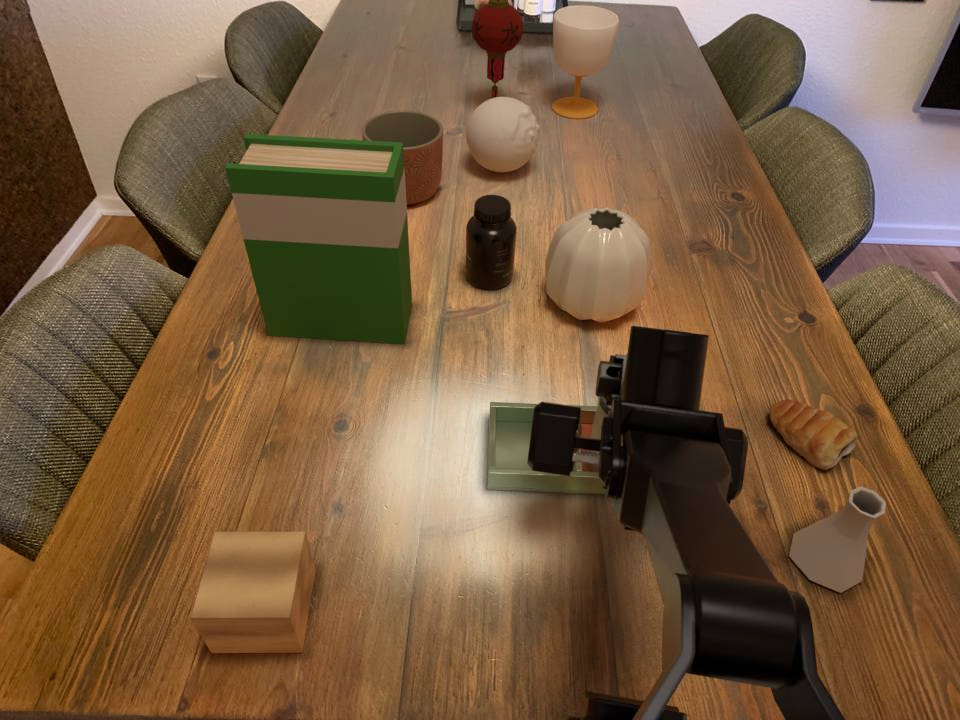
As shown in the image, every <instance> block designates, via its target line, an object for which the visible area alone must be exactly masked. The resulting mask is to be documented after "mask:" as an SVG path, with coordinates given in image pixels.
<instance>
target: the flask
mask: <svg viewBox="0 0 960 720" xmlns="http://www.w3.org/2000/svg"><path fill="white" fill-rule="evenodd" d="M886 509H887V501H886V500H885V499H884V498H883V497H882V496H881V495H880V494H879V493H877V492H876V491H875V490H872V489H869V488H867V487H865V486H862V485H860V486H858V487H856V488H854V489H852V490H850V491H849V492H848V499H847V501H846V502H845V504H844V505H843V506H842V507H841V508H839V509H838V510H837V511H836V512H835V513H833V514H831V515H829V516H827V517H824V518H822V519H820V520H818V521H815V522H814V523H811V524H809V525H808V526H805V527H803V528H802V529H800V530H798V531H795V532H793V536H792V538H791V544H790V549H789V553H788V557H789V558H790V559H791V560H792V561H793V563H794V564H795V565H796V566H797V568H799V570H800V571H801V572H802V573H803V575H804V576H805V577H806V578H807V579H808V580H809V581H811V582H813V583H816V584H818V585H821V586H822V587H826V588H827V589H830V590H832V591H835V592H837V593H839V594H842V593H844V592H845V591H848V590H849V589H851V588H852V587H854V586H856V585H858V584H860V583H862V582H863V581H864V580H863V578H864V571H865V565H866V558H867V544H868V536H869V533H870V531H871V528H872V526H873V523H874V522H875V521H876V520H877V519H879V518H880V517H882V516H884V515H885V514H886Z"/></svg>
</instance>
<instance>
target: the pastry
mask: <svg viewBox="0 0 960 720" xmlns="http://www.w3.org/2000/svg"><path fill="white" fill-rule="evenodd" d="M769 419H770V422H771V424H772V426H773V428H775V429H776V432H777V433H778V434H780V436H781V437H782V438H783V441H784V442H785V443H786V444H787V446H789V447H790V448H791V449H792V450H793V451H794V452H796V453H797V454H798V455H799V456H801V457H803V458H804V459H805V460H806V461H807V462H808V463H809V464H810V465H812V466H813V467H816V468H818V469H821V470H823V471H828V470H829V469H832V468H833V467H835V466H836V465H837V464H838V463H839V462H840V461H841V459H842V457H844V456H847V455H849V454H851V453H852V451H853V450H854V449H855V447H856V444H857V441H858V433H857V431H856V430H855V429H852V428H850V427H849V426H848V425H847V424H846V423H845V422H844V421H842V420H841V419H840V418H838V417H836V416H835V415H834V414H833V413H832V412H830V411H828V410H822V409H821V408H816V407H813V406H811V405H809V404H807V403H805V402H801V401H797V400H792V399H782V400H779V401H777V402H776V403H773V404H771V405H770V407H769Z"/></svg>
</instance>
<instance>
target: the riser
mask: <svg viewBox="0 0 960 720" xmlns="http://www.w3.org/2000/svg"><path fill="white" fill-rule="evenodd" d="M316 571H317V569H316V565H315V562H314V558H313V555H312V552H311V549H310V545H309V540H308V538H307V534H306V531H214V534H213V537H212V541H211V544H210V548H209V551H208V554H207V558H206V562H205V564H204V570H203V571H202V572H203V573H202V575H201V579H200V583H199V586H198V589H197V594H196V598H195V601H194V604H193V608H192V611H191V615H190V619H191V621H192V623H193V624H194V627H195V628H196V630H197V631H198V633H199V634H200V636H201V638H202V640H203V642H204V643H205V645H206V646H207V649H208V650H209V651H210V653H211V654H302V653H303V652H304V647H305V641H306V633H307V627H308V620H309V615H310V608H311V602H312V597H313V591H314V583H315V578H316Z"/></svg>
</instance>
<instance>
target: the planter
mask: <svg viewBox="0 0 960 720" xmlns="http://www.w3.org/2000/svg"><path fill="white" fill-rule="evenodd" d="M361 137H362V140H365V141H383V142H401V143H403V148H404V166H405V184H406V202H407V205H415V204H420V203H422V202H424V201H427V200H428V199H430V198H432V197H433V196H434V195H435V194H436V192H437V191H438V189H439V188H440V184H441V180H442V174H443V158H444V157H443V156H444V155H443V153H444V127H443V124H442V122H441V121H440V120H438V119H437V117H434V116H432V115H430V114H427V113H425V112H421V111H416V110H407V109H406V110H405V109H402V110H400V109H399V110H391V111H385V112H382V113H379V114H376V115H374V116H371V118H369V119H368V120H366V121H365V122H364V124H363V125H362V128H361Z"/></svg>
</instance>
